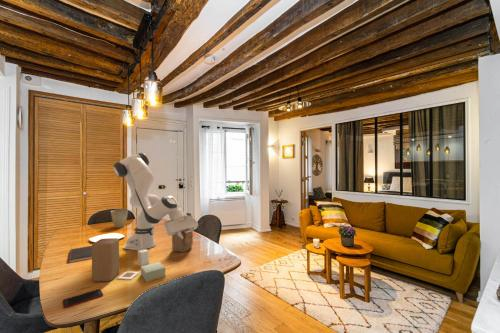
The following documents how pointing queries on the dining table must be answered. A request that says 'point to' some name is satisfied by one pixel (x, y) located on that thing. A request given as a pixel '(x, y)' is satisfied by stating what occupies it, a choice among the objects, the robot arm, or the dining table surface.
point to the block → (179, 244)
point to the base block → (152, 271)
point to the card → (128, 275)
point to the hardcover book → (80, 254)
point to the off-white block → (143, 257)
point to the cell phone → (82, 298)
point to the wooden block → (105, 259)
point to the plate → (106, 236)
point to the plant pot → (119, 217)
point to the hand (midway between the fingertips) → (187, 237)
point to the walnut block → (187, 238)
